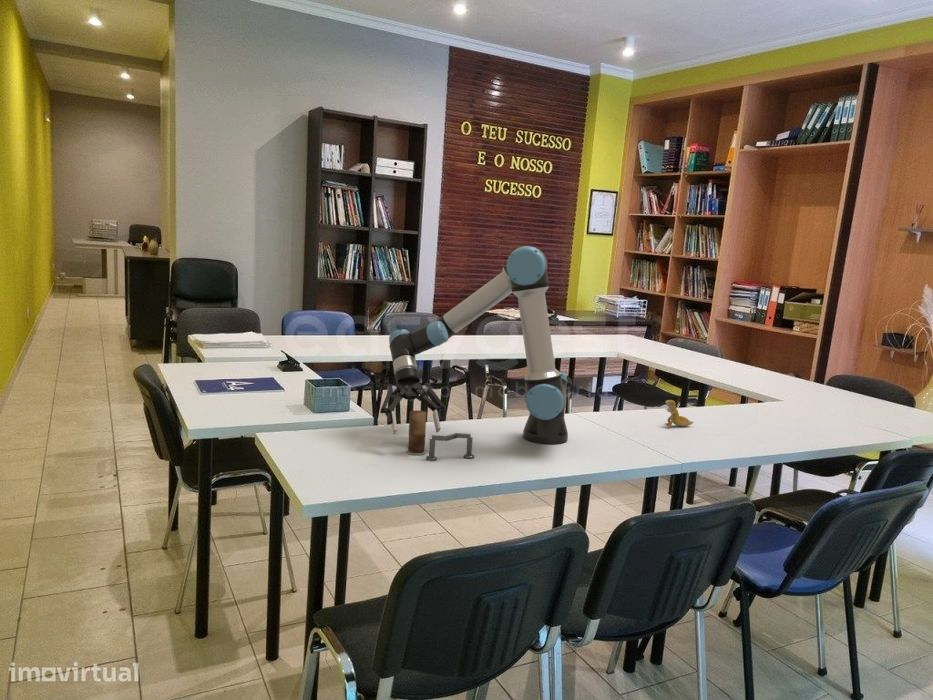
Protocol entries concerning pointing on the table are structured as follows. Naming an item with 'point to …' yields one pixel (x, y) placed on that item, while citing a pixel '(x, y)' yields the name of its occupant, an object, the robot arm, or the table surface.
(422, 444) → the dowel
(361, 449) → the table surface
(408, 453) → the pad
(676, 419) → the toy
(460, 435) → the grey bent handle
